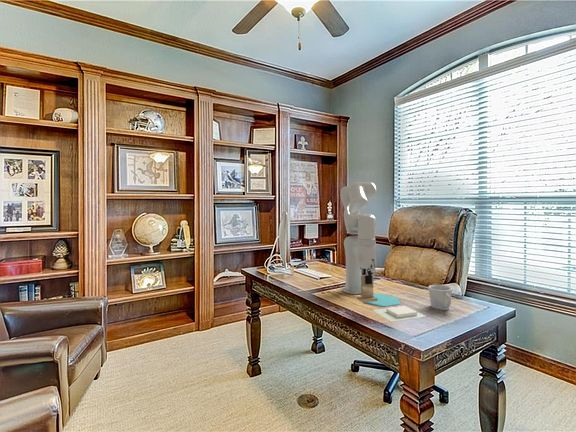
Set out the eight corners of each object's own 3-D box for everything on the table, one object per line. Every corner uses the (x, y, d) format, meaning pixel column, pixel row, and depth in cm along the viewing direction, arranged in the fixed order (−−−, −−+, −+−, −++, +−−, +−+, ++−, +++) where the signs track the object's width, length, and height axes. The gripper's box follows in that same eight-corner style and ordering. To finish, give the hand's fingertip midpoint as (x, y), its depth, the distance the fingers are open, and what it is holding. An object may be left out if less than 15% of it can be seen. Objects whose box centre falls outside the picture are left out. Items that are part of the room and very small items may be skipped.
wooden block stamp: (356, 298, 148) (356, 274, 148) (370, 297, 150) (370, 273, 150) (363, 302, 142) (363, 277, 142) (377, 301, 144) (377, 276, 144)
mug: (445, 304, 160) (445, 284, 160) (461, 315, 145) (462, 293, 145) (424, 304, 160) (424, 284, 159) (438, 315, 145) (438, 293, 145)
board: (372, 311, 152) (372, 310, 152) (404, 306, 157) (404, 305, 157) (390, 322, 138) (390, 321, 138) (426, 317, 143) (426, 316, 143)
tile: (386, 308, 150) (398, 314, 141) (404, 305, 153) (417, 311, 144) (386, 311, 150) (398, 318, 141) (404, 309, 153) (417, 315, 144)
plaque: (406, 303, 167) (370, 294, 179) (406, 299, 166) (370, 291, 179) (393, 312, 153) (355, 302, 166) (393, 308, 153) (355, 298, 166)
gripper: (350, 241, 152) (350, 279, 152) (368, 245, 136) (368, 288, 137) (364, 240, 154) (365, 278, 155) (384, 244, 138) (384, 286, 139)
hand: (366, 282), depth 146 cm, fingers closed on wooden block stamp
